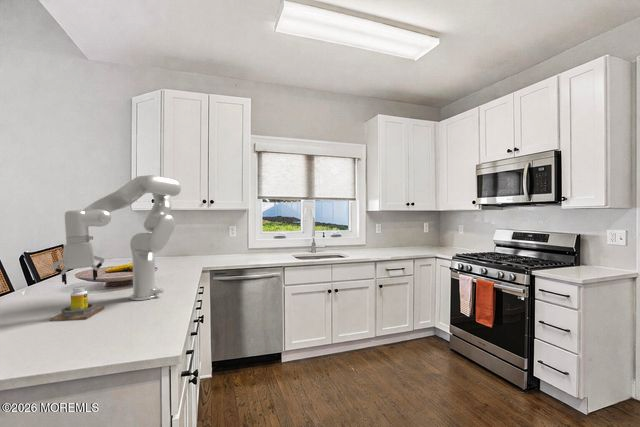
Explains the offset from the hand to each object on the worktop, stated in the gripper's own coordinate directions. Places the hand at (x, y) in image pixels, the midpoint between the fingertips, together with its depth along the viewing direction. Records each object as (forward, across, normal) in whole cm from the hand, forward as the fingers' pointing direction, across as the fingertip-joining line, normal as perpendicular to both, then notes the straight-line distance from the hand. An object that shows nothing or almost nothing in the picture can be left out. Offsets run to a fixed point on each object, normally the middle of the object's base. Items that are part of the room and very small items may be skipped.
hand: (80, 281), depth 133 cm
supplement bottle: (+13, +1, 0) cm, 13 cm away
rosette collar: (+14, +1, 0) cm, 14 cm away
